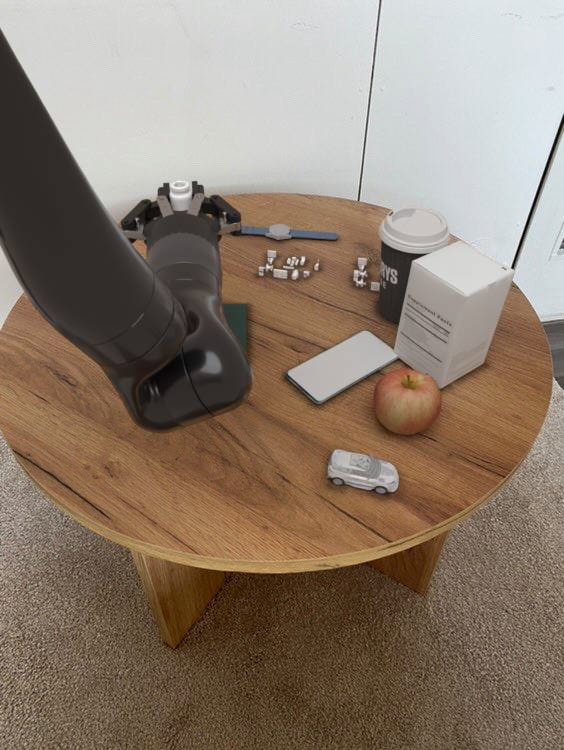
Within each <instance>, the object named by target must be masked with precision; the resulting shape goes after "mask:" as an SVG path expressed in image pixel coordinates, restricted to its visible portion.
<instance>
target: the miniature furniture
mask: <svg viewBox="0 0 564 750" xmlns="http://www.w3.org/2000/svg"><path fill="white" fill-rule="evenodd" d="M267 257H268V258H267V262H269V263H266V266H265V265H263V266H259V267H258V276H261V277H264V274H265V273H268V272H269V270H270V272H273V278H278V279H288V270H292V273H291V277H292V280H297V279H299V276H300V275H299V274H300V272H299V270H298V269H295V267H294V266H298V265H299V266H304V265H305V262H306V256H301V260H300V259H298V258H297V256H292V257H291V258H290V257H288V258H287V261H286V265H283V267H282V268H283V269H277V268H274V265H273V261H274V259H276V258H277V251H276V250H270V249H267ZM357 259H358V260H357V266H358V269H354V272H353V278H352V279H353V282H355V287H359V286H360V288H363V287H364V286H366V285H367V281H364V278H368V277H369V276H368V275H369V274H368V273H367V270H364V268H365V266H367V264H368V258H365V257H358V258H357ZM319 261H320V259H317V263H315V264H314V266H313V267H314V271H319V264H320V263H319ZM287 265H289V266H287ZM284 269H285V270H284ZM286 269H288V270H286ZM264 270H265V273H264ZM309 276H310V271H309V270H308V271H307V270H304V271H303V278H304V279H306V278H307V277H309ZM360 277H361V279H360V280H359V278H360ZM379 287H380V282H375V281H371V284H370V291H376V292H379Z"/></svg>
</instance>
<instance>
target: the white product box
mask: <svg viewBox="0 0 564 750" xmlns="http://www.w3.org/2000/svg"><path fill="white" fill-rule="evenodd" d="M515 274H516V271H515V270H514V269H513V268H511V267H509V266H507V265H505V264H503V263H502V262H500V261H498V260H496V259H494V258H493V257H491V256H489V255H487V254H486V253H484V252H482V251H480V250H479V249H477V248H475V247H474V246H472V245H470V244H468V242H465V241H463V240H457V241H456V242H453V243H451V244H450V243H449V244H448V245H447V246H446V247H444V248H441V249H439V250H437V251H434V252H432V253H430V254H427V255H425V256H423V257H420V258H418V259H416V260H413V261H412V265H411V269H410V274H409V279H408V284H407V289H406V294H405V299H404V303H403V308H402V313H401V318H400V323H399V324H398V328H397V333H396V338H395V341H394V342H395V343H394V347H393V349H394V351H393V352H394V353H395V354H396V355H398V356H399V358H398V359H399V360H401V361H402V362H404V363H405V364H406V365H408V366H409V367H410V369H412V370H415V371H419V372H421V373H424V374H426V375H428V376H430V377H431V378H432V379H434V381H435V382H436V383H437V385H438V387H439V389H444V387H446V386H448V385H450V384H452V383H453V382H455V381H456V380H458V379H460V378H462V377H464V376H465V375H467V374H469V373H470V372H471V371H474V370H475V369H477V368H479V367H480V366H482V365H483V364H484V363H485V361H486V357H487V354H488V352H489V349H490V346H491V343H492V341H493V338H494V335H495V332H496V329H497V326H498V323H499V320H500V317H501V315H502V312H503V309H504V305H505V303H506V301H507V300H506V299H507V297H508V294H509V291H510V288H511V285H512V283H513V279H514V277H515Z"/></svg>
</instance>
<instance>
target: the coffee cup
mask: <svg viewBox="0 0 564 750" xmlns="http://www.w3.org/2000/svg"><path fill="white" fill-rule="evenodd" d="M377 233H378V236H379V238H380V241H381V243H380V264H379V265H380V267H379V269H380V270H379V283H380V287H379V291H378V312H379V314H380V315H381V317H382V318H384V319H385V320H386V321H388V322H391V323H394V324H398V325H399V323H400V318H401V313H402V308H403V303H404V299H405V294H406V289H407V284H408V279H409V274H410V269H411V265H412V261H413V260H416V259H418V258H420V257H423V256H425V255H427V254H430V253H432V252H434V251H437V250H439V249H441V248H444V247H446V246H448V245H450V242H451V231H450V227H449V225H448V221H447V218H446V217H445V216H444V215H443V214H442V213H441V212H440V211H437V210H435V209H432V208H430V207H426V206H421V205H403V206H398V207H395V208H393V209H392V210H390V211H388V213H387V215H386V217H385V218H384V219H383V220H382V222H381V223H380V225H379V228H378V230H377Z"/></svg>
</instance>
